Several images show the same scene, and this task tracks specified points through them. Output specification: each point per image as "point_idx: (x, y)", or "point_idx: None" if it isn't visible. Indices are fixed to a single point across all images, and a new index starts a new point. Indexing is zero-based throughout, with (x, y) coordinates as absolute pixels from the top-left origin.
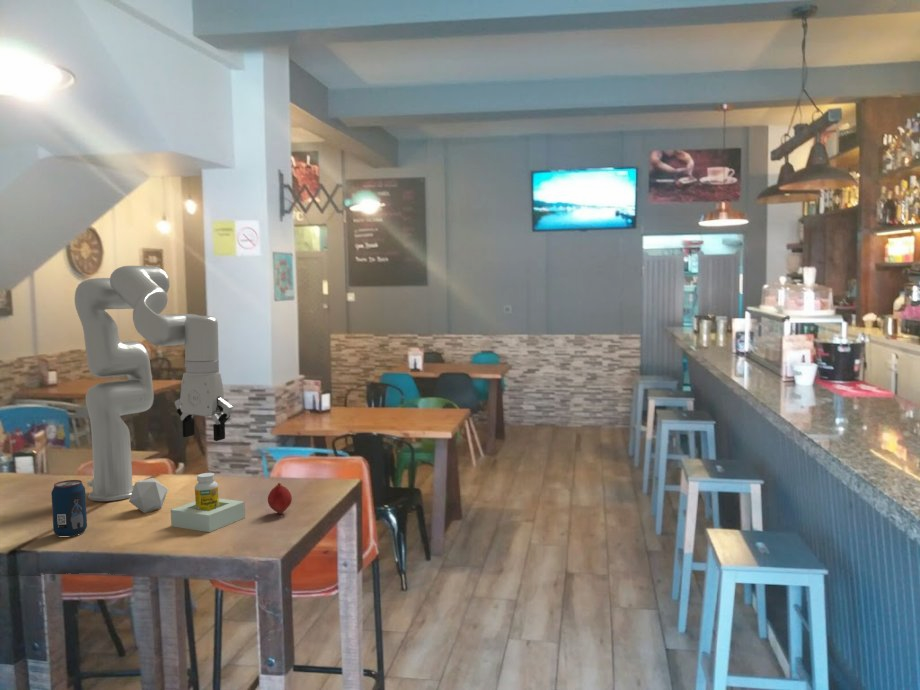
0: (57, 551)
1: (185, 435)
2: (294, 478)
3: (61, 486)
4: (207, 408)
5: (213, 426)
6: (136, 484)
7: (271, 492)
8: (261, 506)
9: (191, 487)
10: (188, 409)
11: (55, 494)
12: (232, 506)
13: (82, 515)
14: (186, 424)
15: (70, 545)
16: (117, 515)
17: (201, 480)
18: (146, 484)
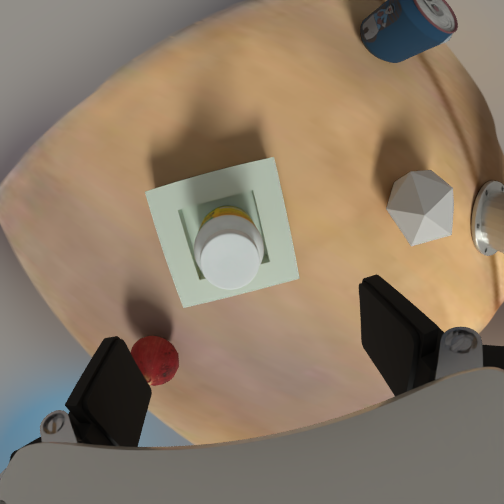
0: None
1: (362, 285)
2: None
3: None
4: (9, 498)
5: (89, 397)
6: (446, 185)
7: (150, 357)
8: (231, 348)
9: (434, 321)
10: (380, 472)
11: None
12: (169, 269)
13: (377, 32)
14: (399, 335)
15: (315, 4)
16: (417, 146)
17: (214, 233)
18: (432, 198)
